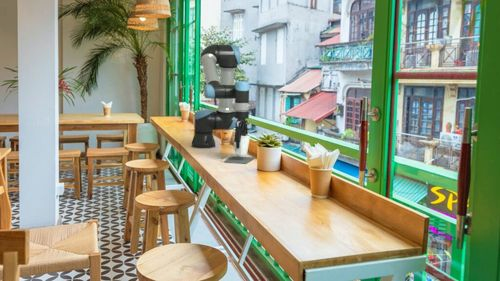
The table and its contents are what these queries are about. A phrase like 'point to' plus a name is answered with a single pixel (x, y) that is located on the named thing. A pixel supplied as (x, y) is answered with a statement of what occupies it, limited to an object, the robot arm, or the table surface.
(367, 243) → the table surface
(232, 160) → the mat
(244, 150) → the cup
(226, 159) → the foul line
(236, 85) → the robot arm
